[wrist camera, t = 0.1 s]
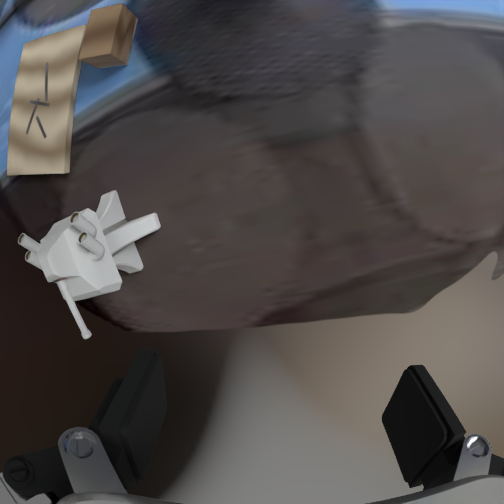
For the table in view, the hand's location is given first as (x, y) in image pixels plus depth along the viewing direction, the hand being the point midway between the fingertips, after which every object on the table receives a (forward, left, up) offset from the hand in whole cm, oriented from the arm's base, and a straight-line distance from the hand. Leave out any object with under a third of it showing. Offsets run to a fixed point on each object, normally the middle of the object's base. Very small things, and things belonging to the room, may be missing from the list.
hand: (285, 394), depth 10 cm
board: (-17, -37, -31) cm, 51 cm away
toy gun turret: (+4, -20, -31) cm, 37 cm away
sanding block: (-25, -24, -31) cm, 47 cm away
